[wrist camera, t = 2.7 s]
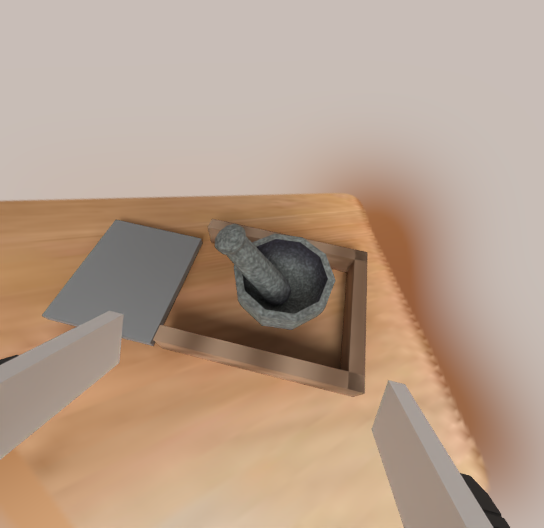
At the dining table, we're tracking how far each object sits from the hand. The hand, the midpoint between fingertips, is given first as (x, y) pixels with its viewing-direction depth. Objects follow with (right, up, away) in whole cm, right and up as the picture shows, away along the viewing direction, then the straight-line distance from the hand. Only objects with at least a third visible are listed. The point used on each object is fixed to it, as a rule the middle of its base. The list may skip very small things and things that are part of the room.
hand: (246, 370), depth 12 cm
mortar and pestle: (+1, 0, +18) cm, 18 cm away
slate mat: (-15, +4, +18) cm, 24 cm away
